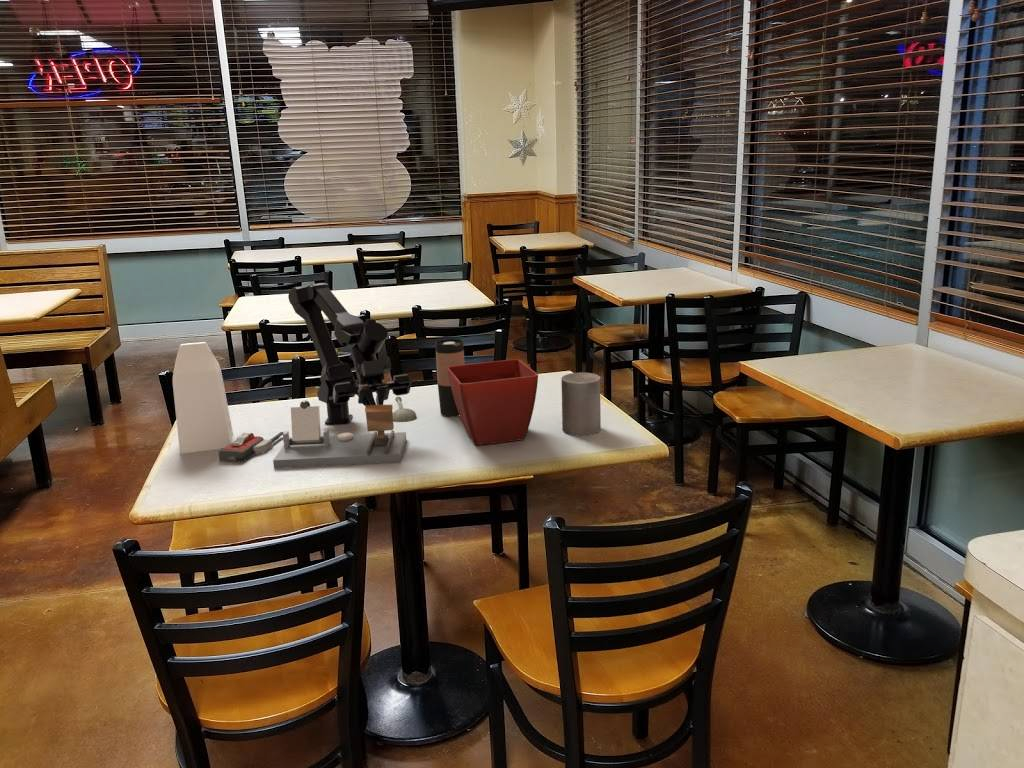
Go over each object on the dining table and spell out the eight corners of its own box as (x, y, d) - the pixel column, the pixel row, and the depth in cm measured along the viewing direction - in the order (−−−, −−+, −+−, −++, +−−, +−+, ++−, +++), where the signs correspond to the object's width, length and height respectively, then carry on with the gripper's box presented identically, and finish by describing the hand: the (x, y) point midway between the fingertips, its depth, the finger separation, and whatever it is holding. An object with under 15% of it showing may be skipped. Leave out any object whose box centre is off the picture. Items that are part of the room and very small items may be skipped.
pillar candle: (560, 425, 215) (558, 368, 210) (597, 422, 215) (596, 366, 211) (565, 437, 205) (563, 378, 201) (604, 434, 206) (603, 376, 202)
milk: (180, 453, 205) (164, 350, 199) (184, 439, 216) (169, 341, 209) (231, 447, 208) (217, 345, 201) (233, 433, 219) (220, 336, 212)
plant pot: (450, 428, 215) (446, 365, 211) (521, 420, 220) (519, 358, 215) (464, 452, 198) (460, 383, 193) (541, 442, 202) (539, 375, 197)
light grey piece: (291, 445, 201) (289, 401, 201) (324, 443, 202) (322, 399, 202) (288, 445, 199) (286, 401, 199) (322, 444, 199) (320, 399, 199)
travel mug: (442, 408, 233) (437, 338, 228) (469, 408, 232) (465, 338, 227) (437, 417, 225) (432, 345, 220) (465, 416, 225) (461, 344, 219)
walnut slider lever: (370, 440, 202) (366, 404, 200) (395, 438, 202) (392, 403, 200) (367, 445, 198) (364, 409, 196) (393, 444, 198) (390, 408, 196)
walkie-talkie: (249, 466, 196) (287, 438, 215) (247, 448, 195) (285, 421, 214) (215, 464, 198) (255, 437, 216) (212, 447, 196) (253, 420, 215)
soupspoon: (392, 427, 222) (417, 426, 224) (392, 415, 221) (417, 414, 223) (387, 402, 243) (410, 401, 244) (387, 391, 242) (410, 390, 243)
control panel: (289, 445, 208) (287, 424, 206) (406, 439, 208) (404, 418, 207) (274, 468, 192) (271, 445, 191) (400, 462, 193) (398, 439, 191)
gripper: (330, 351, 197) (343, 407, 190) (406, 341, 204) (422, 396, 197) (327, 376, 206) (340, 431, 199) (401, 366, 213) (416, 419, 206)
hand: (380, 418), depth 200 cm, fingers closed
